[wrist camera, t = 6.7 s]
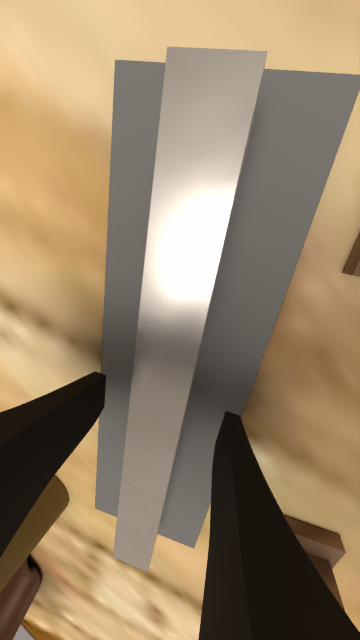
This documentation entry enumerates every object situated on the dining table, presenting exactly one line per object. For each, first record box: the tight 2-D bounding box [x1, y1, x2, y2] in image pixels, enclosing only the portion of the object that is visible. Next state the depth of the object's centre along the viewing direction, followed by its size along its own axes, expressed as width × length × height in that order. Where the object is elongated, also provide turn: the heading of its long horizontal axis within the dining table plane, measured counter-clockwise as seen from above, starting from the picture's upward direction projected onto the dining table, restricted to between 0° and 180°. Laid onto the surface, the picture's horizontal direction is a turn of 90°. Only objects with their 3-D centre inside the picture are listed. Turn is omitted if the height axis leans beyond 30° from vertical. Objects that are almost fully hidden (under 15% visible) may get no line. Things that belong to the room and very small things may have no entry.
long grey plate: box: [95, 60, 360, 548], centre depth 12 cm, size 8×26×1 cm, turn 171°
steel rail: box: [113, 47, 267, 572], centre depth 11 cm, size 2×24×2 cm, turn 171°
